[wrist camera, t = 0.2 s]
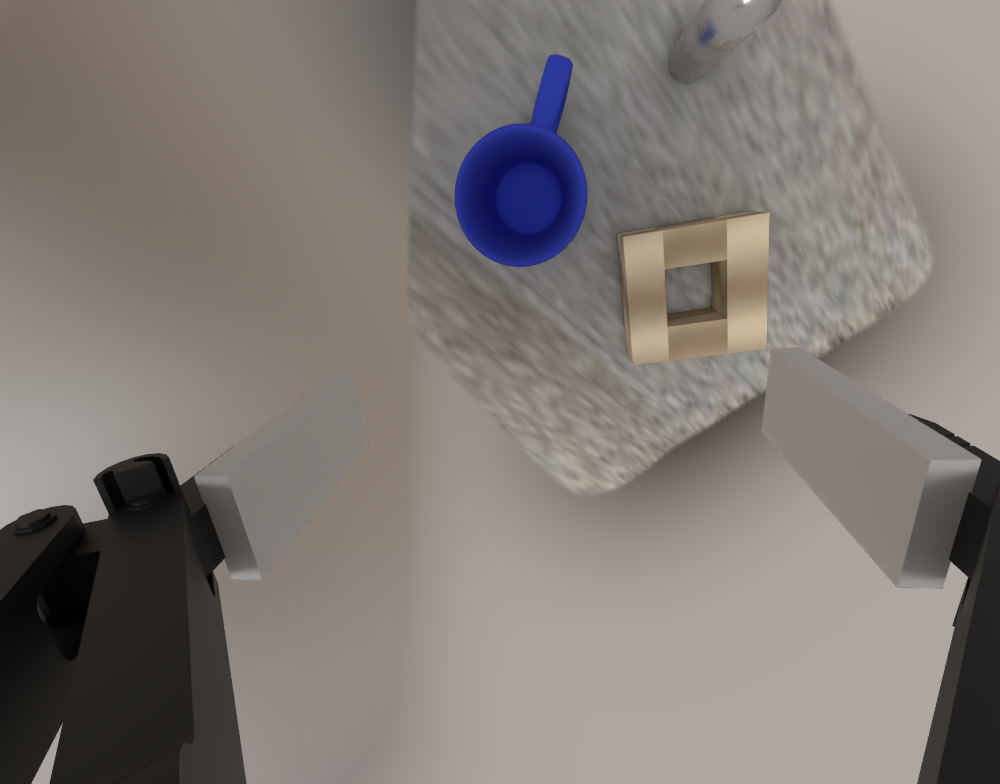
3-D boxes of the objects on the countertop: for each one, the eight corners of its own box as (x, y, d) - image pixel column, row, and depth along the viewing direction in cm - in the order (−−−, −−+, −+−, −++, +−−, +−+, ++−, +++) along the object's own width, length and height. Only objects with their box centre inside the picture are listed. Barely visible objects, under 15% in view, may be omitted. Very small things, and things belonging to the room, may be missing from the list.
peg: (666, 38, 34) (719, -41, 23) (711, 28, 33) (787, -58, 22) (669, 87, 35) (719, 34, 24) (712, 77, 34) (785, 19, 23)
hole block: (617, 233, 39) (623, 236, 35) (748, 211, 37) (769, 212, 33) (626, 351, 42) (633, 365, 39) (747, 335, 41) (766, 348, 37)
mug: (614, 105, 36) (633, 71, 26) (561, 264, 40) (561, 283, 31) (509, 71, 36) (491, 26, 26) (468, 235, 40) (440, 245, 31)
